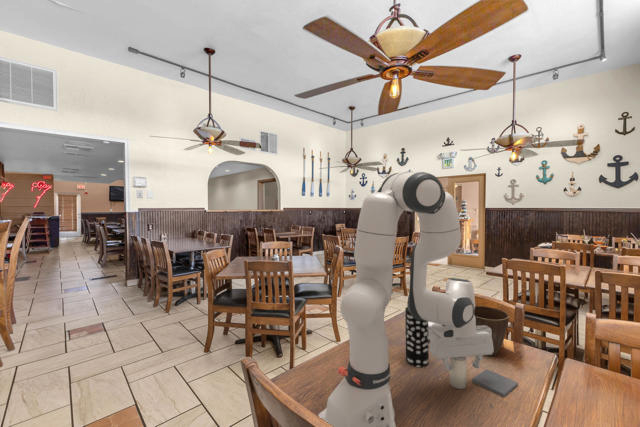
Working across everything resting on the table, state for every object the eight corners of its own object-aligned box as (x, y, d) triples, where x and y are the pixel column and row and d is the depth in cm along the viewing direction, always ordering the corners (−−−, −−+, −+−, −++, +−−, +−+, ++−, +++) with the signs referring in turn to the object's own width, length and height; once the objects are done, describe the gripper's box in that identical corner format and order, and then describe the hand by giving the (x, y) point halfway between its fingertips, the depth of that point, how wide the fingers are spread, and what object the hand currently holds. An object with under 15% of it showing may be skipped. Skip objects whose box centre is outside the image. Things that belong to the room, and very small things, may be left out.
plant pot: (506, 365, 108) (506, 322, 108) (462, 353, 118) (462, 313, 117) (511, 349, 120) (511, 311, 120) (470, 339, 129) (470, 303, 129)
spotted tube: (430, 368, 107) (430, 314, 107) (406, 366, 109) (406, 313, 108) (426, 356, 115) (426, 306, 115) (404, 354, 117) (404, 305, 116)
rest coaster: (504, 397, 91) (504, 394, 91) (471, 381, 99) (471, 378, 99) (518, 385, 96) (518, 382, 96) (486, 371, 105) (486, 368, 105)
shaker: (461, 390, 94) (461, 360, 94) (446, 383, 98) (446, 354, 98) (469, 385, 97) (469, 356, 97) (455, 378, 101) (455, 350, 101)
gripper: (485, 321, 100) (486, 361, 100) (427, 325, 99) (428, 365, 99) (497, 328, 94) (498, 371, 94) (435, 333, 93) (437, 376, 93)
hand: (462, 368), depth 97 cm, fingers open, 8 cm apart
